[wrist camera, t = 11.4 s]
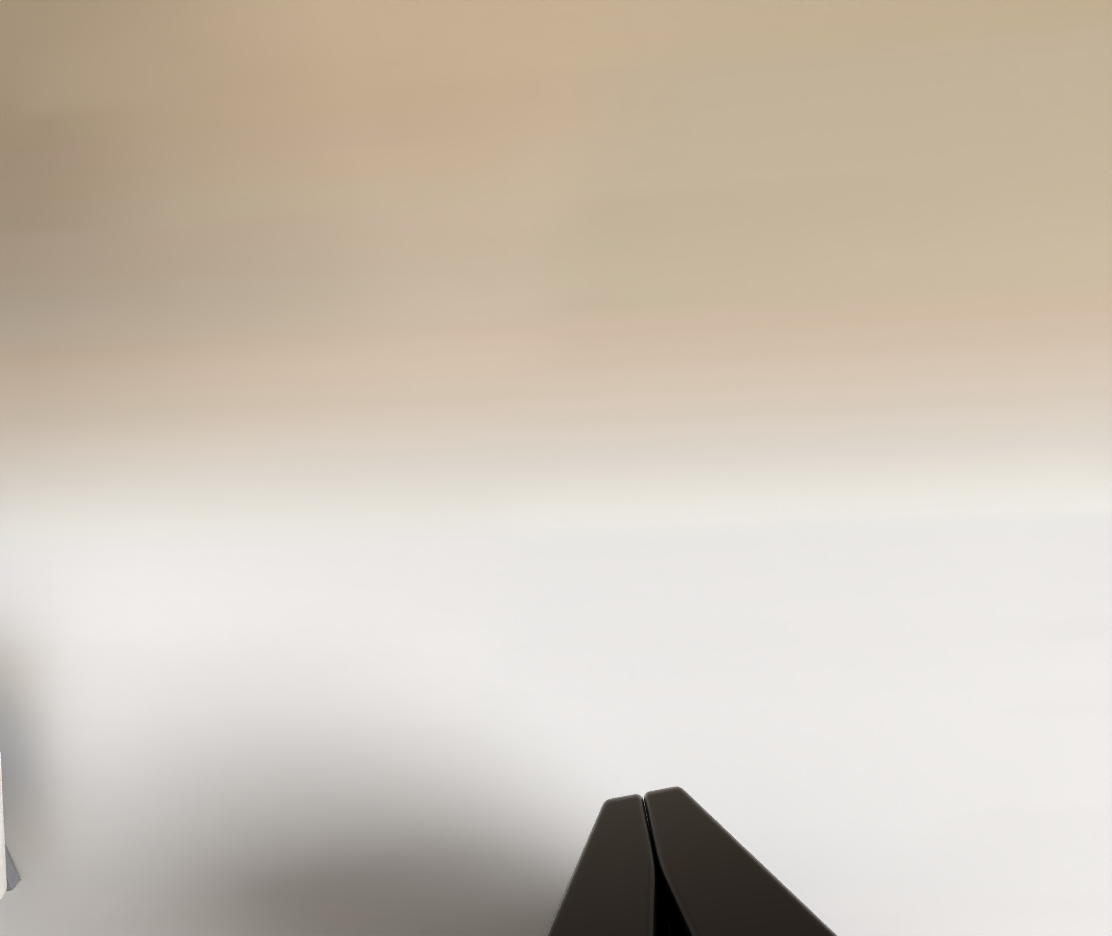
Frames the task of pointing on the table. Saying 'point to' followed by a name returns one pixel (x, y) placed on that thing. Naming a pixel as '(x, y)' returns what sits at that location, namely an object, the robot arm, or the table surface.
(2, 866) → the medicine bottle
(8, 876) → the u rest
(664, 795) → the robot arm
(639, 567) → the table surface
